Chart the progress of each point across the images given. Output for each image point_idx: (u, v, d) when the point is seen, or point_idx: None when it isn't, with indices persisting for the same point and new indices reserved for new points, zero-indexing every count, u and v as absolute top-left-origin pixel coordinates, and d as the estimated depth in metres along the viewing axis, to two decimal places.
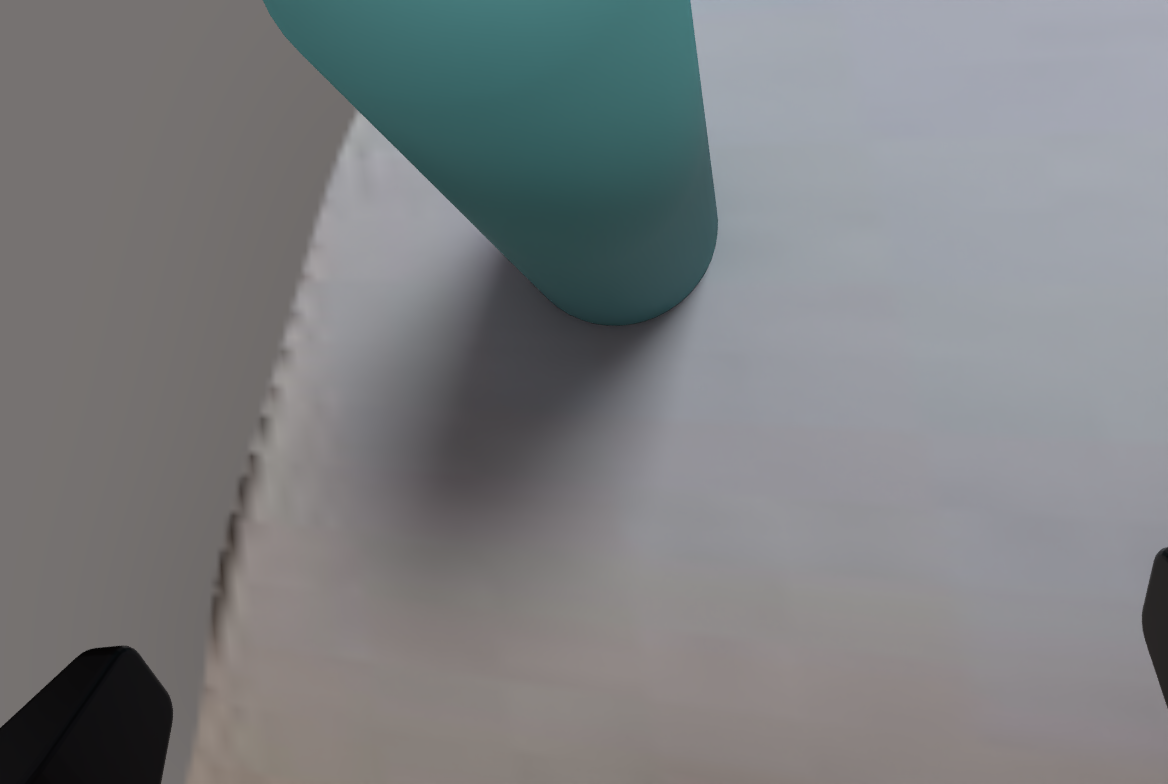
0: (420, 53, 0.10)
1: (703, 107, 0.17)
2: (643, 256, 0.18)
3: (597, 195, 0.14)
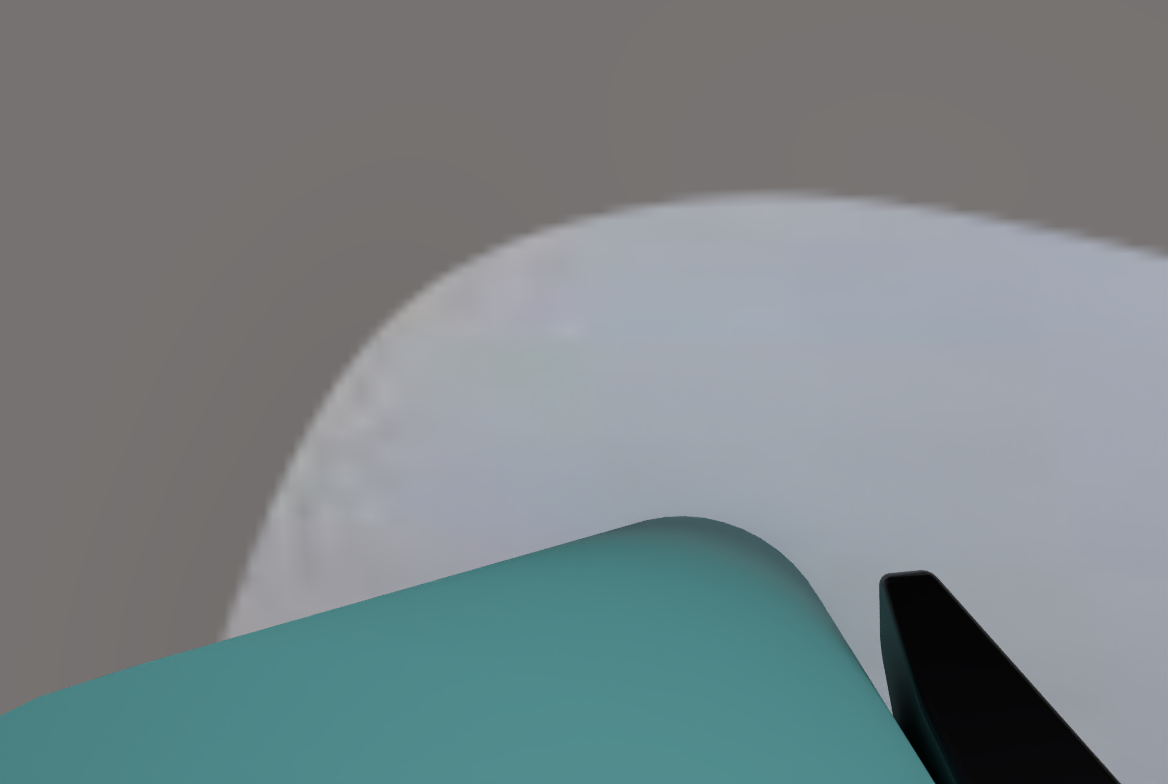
0: None
1: None
2: None
3: None
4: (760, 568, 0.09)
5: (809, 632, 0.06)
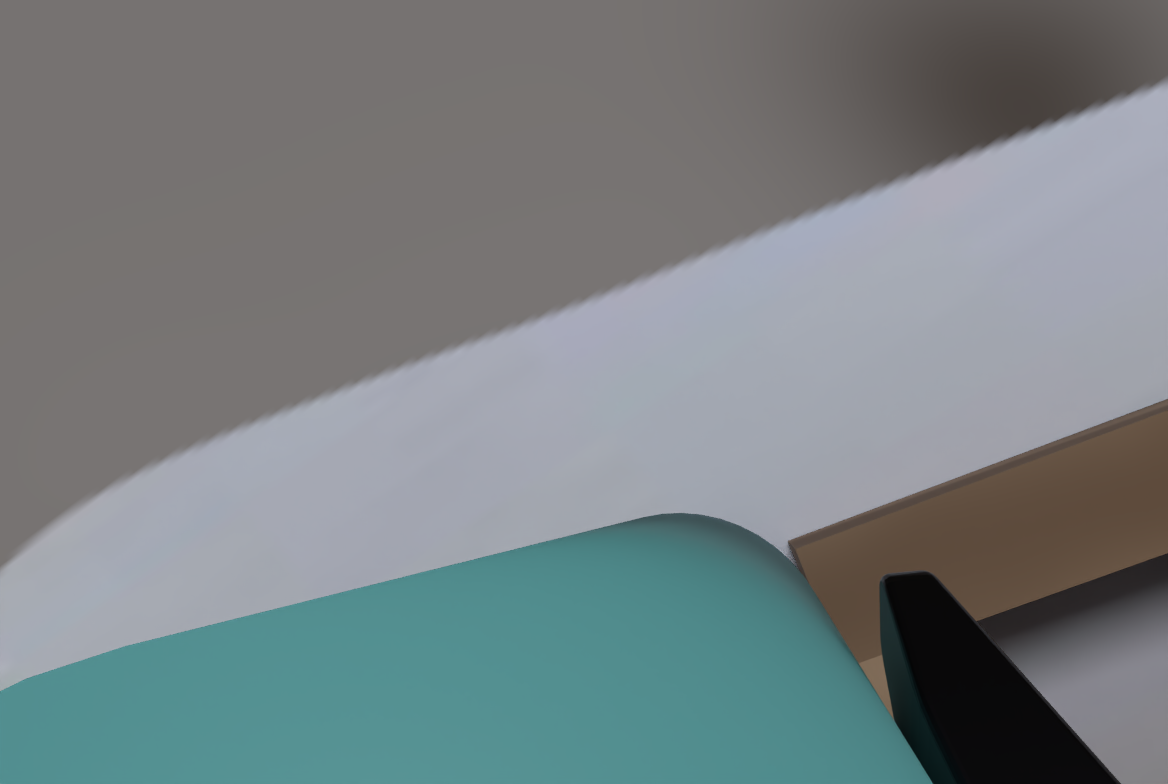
0: None
1: None
2: None
3: None
4: (755, 562, 0.09)
5: (802, 624, 0.06)
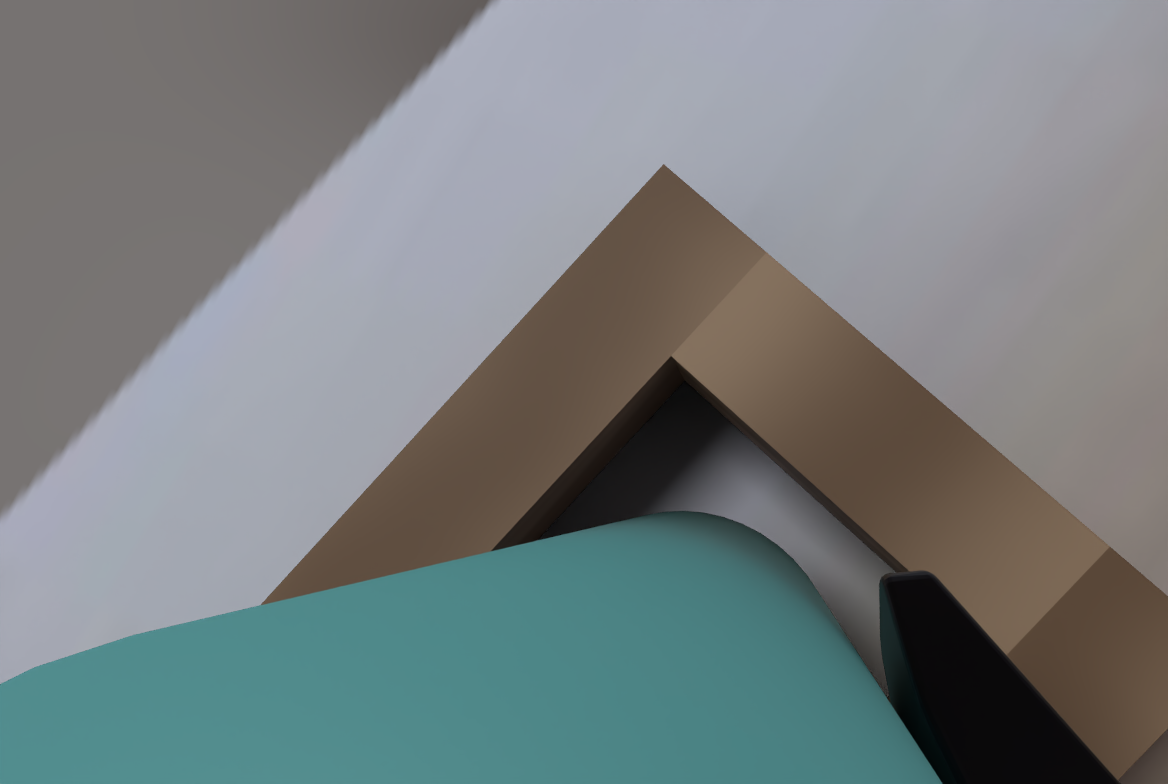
0: None
1: None
2: None
3: None
4: (759, 559, 0.09)
5: (807, 619, 0.06)
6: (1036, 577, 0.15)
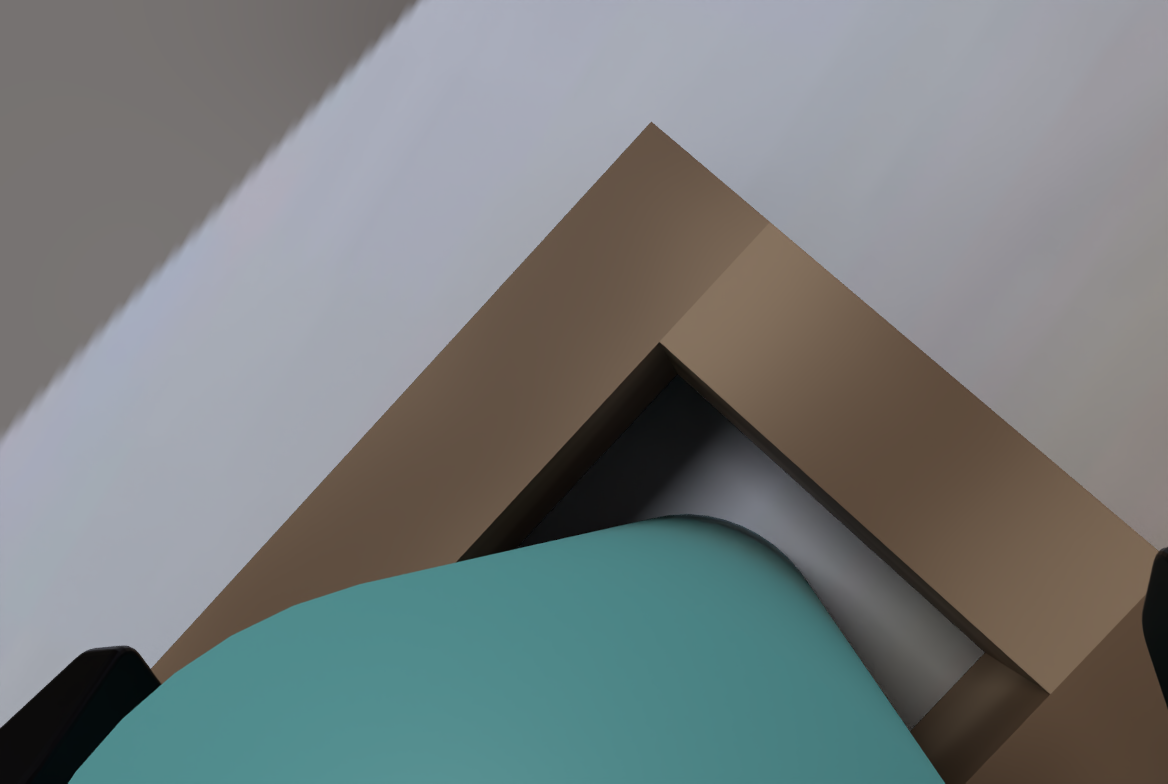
0: None
1: None
2: None
3: None
4: (758, 553, 0.10)
5: (798, 598, 0.08)
6: (1087, 600, 0.12)
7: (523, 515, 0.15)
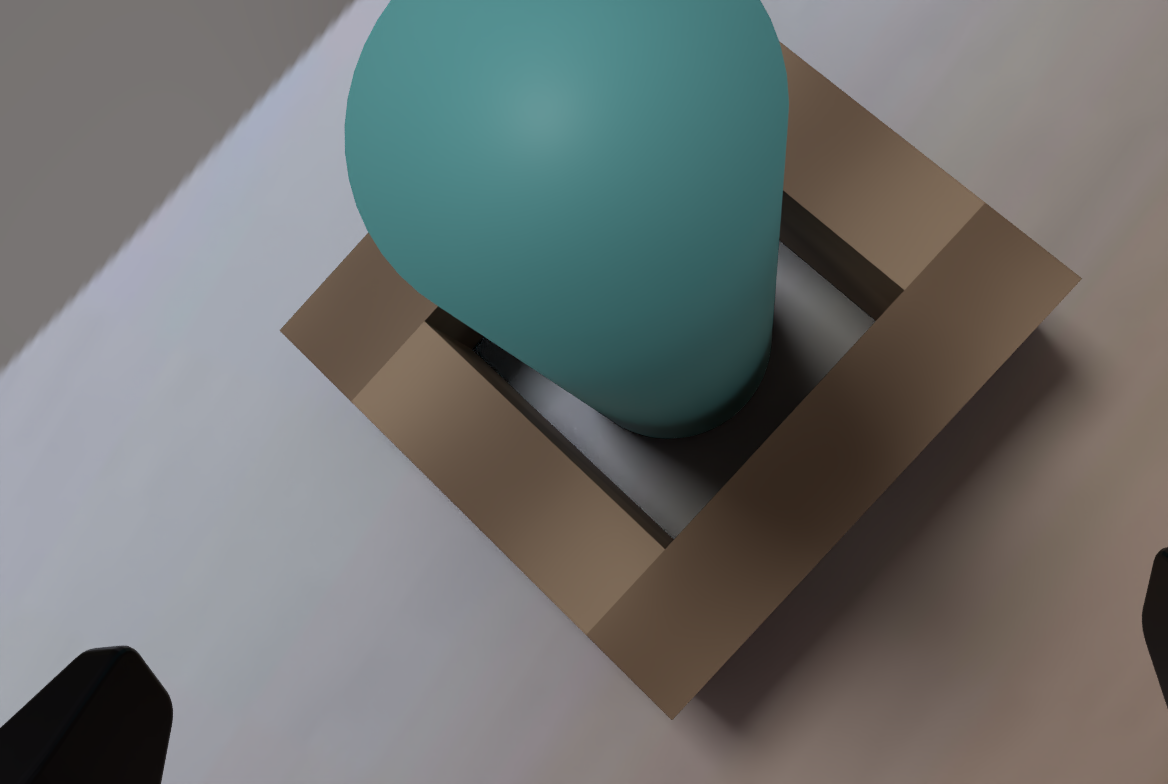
0: (522, 284, 0.10)
1: None
2: (706, 400, 0.17)
3: (676, 374, 0.14)
4: None
5: None
6: (929, 228, 0.19)
7: None
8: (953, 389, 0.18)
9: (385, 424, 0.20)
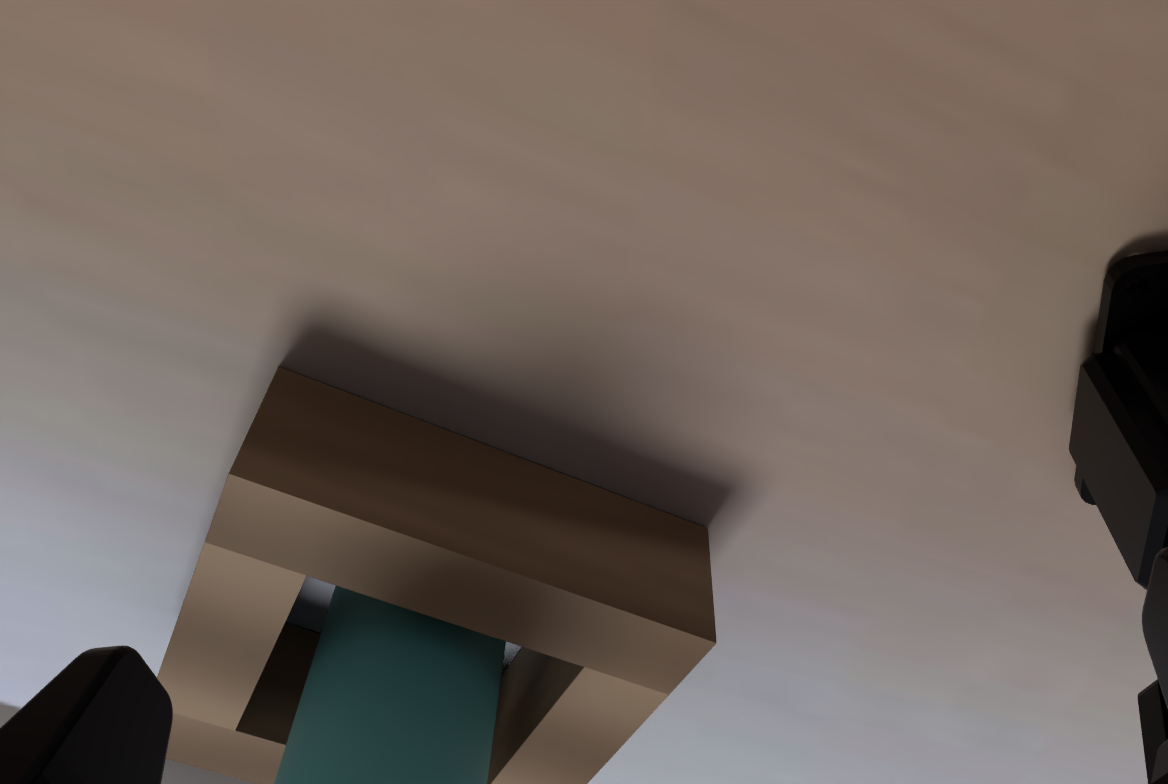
0: None
1: (326, 755, 0.21)
2: (452, 722, 0.22)
3: None
4: None
5: None
6: (247, 570, 0.21)
7: None
8: (370, 534, 0.21)
9: None
